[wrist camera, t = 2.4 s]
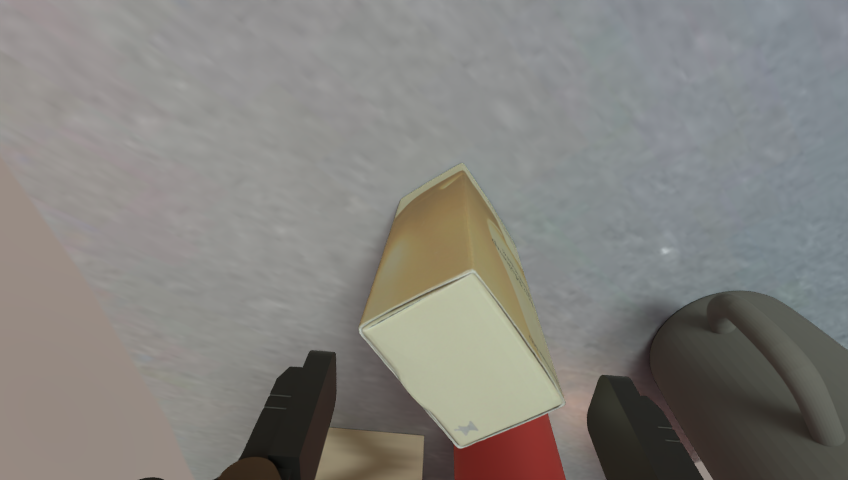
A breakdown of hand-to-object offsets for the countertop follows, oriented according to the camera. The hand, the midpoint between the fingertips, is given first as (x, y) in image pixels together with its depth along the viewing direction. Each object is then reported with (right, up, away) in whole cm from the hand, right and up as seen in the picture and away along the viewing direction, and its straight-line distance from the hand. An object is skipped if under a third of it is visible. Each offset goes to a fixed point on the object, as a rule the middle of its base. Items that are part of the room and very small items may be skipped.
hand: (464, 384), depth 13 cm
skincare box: (+1, +5, +12) cm, 13 cm away
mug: (+17, -1, +14) cm, 22 cm away
